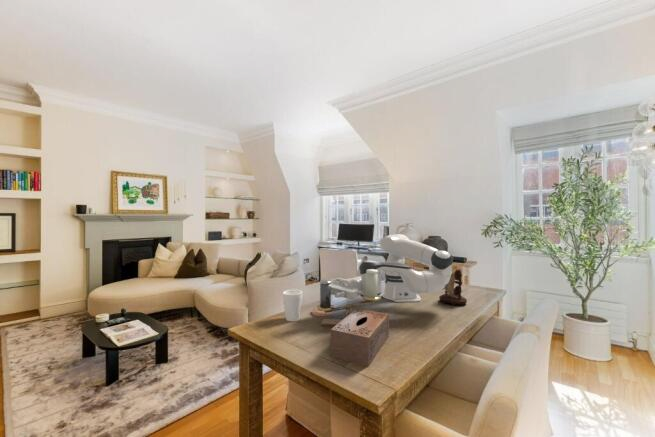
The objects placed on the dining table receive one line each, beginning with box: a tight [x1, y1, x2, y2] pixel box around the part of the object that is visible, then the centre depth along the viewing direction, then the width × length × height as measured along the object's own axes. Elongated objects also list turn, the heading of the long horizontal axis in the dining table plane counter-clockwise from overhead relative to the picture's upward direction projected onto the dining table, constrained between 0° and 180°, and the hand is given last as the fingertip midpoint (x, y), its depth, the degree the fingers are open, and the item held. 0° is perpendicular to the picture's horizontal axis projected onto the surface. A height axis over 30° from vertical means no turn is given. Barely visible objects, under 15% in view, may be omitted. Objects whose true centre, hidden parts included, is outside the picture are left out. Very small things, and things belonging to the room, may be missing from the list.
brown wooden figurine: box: [438, 269, 468, 307], centre depth 167 cm, size 15×15×20 cm
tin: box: [319, 279, 332, 309], centre depth 132 cm, size 5×5×12 cm
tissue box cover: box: [329, 308, 390, 367], centre depth 110 cm, size 26×14×10 cm, turn 153°
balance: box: [316, 295, 381, 328], centre depth 131 cm, size 29×8×14 cm, turn 84°
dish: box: [311, 307, 332, 318], centre depth 146 cm, size 10×10×1 cm
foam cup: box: [282, 289, 303, 322], centre depth 138 cm, size 10×9×13 cm
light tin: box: [366, 269, 378, 298], centre depth 130 cm, size 5×5×12 cm
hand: (328, 293), depth 132 cm, fingers open, 8 cm apart
